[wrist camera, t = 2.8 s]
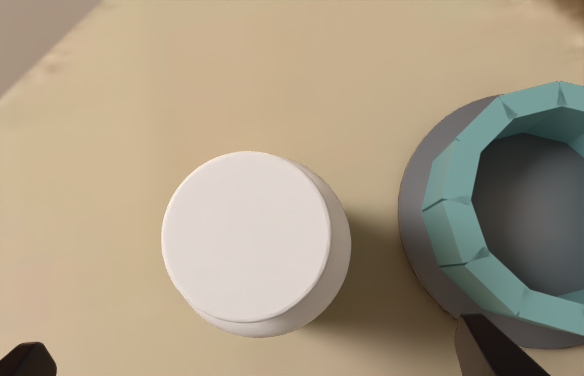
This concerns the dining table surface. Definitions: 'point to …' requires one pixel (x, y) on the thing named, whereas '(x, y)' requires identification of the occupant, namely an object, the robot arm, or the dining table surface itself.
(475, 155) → the teal round bowl
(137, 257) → the dining table surface
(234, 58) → the dining table surface
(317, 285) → the supplement bottle
